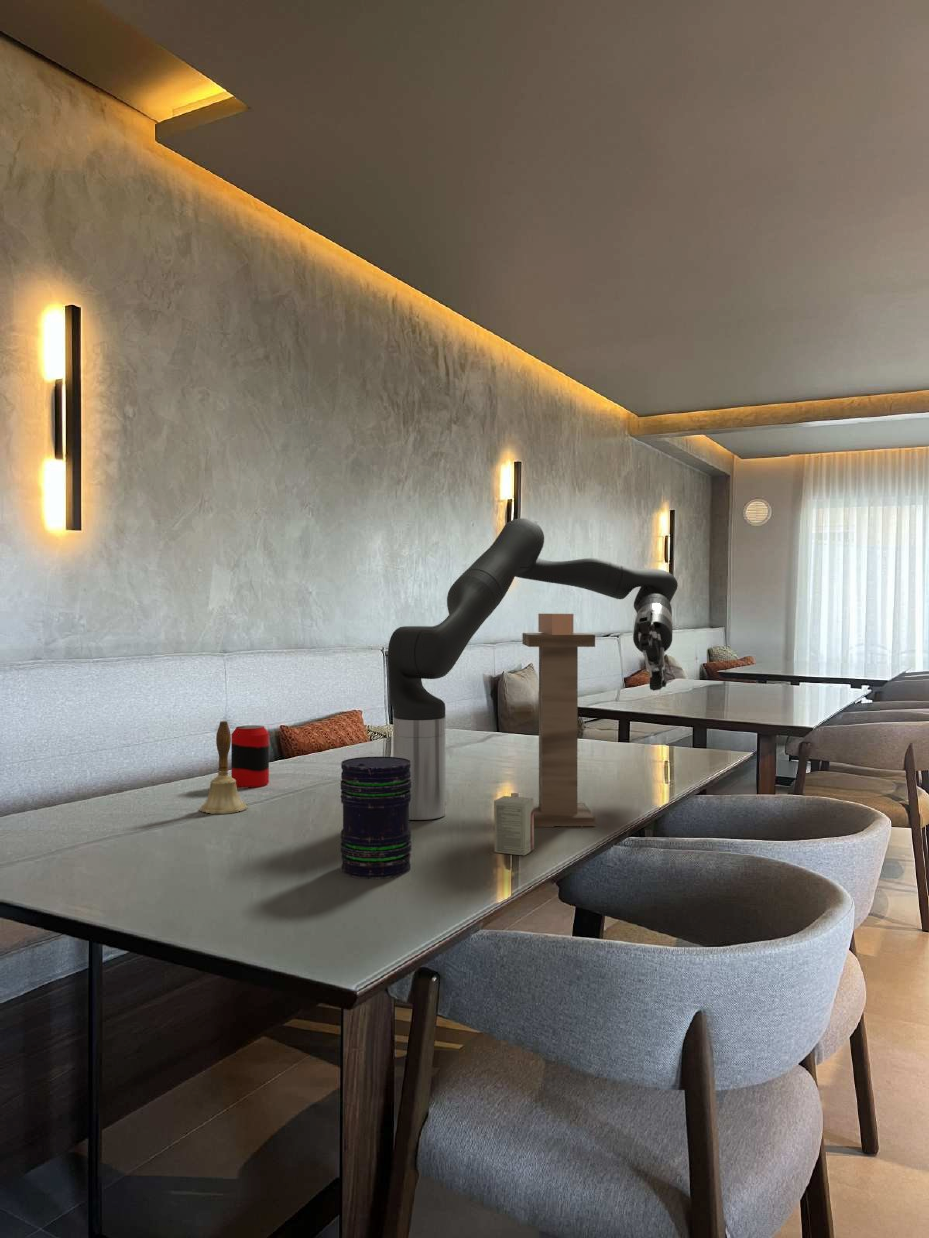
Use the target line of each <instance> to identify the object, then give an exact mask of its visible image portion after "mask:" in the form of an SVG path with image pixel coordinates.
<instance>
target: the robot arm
mask: <svg viewBox="0 0 929 1238" xmlns="http://www.w3.org/2000/svg"><path fill="white" fill-rule="evenodd" d="M544 544H545V534H544V531H543V530H542V527H541V526H540V525H539V523H537V522H535V520H531V519H529V518H523V517H521V518H514V519H512V520H510V521H508V522H507V523H506V524H504V526H503V527H502V529H501V531H500V533H499V534H498V536H497V537H496V539H494V540H493V542H492V544H491V545H490V546H489V548H487V549H486V551H484V552H483V553H482V554H481V555H480V556H479V557H478V558H477V559H476V560H474V562H473V563H472V564H471V565H470V566H469V567H468V568H467V569H466V570H465V571H463V573H462V574H461V575H460V576H459V577H458V578H457V579H456V580H455V581H454V582H453V584H452V585H450V588H449V590H448V593H447V596H446V605H447V606H446V608H447V612H448V615H447V617H446V618H445V619H444V620H443V621H441V622H440V623H438V624H436V625H433V626H431V625H430V626H429V625H426V626H424V625H421V626H420V625H411V626H410V625H408V626H407V625H406V626H398V627H397V628H396V629H394V631H393V632H392V634H391V636H390V639H389V641H388V646H387V670H388V671H387V672H388V686H389V687H388V690H389V691H388V692H389V701H390V704H391V707H392V717H393V718H392V722H393V725H392V732H393V733H392V757H398V758H404V759H408V760H410V761H411V767H410V772H411V777H410V779H411V789H410V790H411V801H410V802H409V821H411V820H414V821H422V820H425V821H427V820H434V819H439V818H442V817H444V816H446V805H447V804H446V803H447V801H446V704H445V702H444V700H442V699H441V698H439V697H437V696H435V695H433V694H431V693H430V692H429V691H428V690H426V688H425V687H424V685H423V681H422V680H436V679H437V680H438V679H440V678H444V677H446V675H448V674H449V673H450V672H451V670H452V669H453V668H454V667H455V666H456V663H457V662H458V660H459V658H460V657H461V655H462V653H463V652H464V650H465V649H466V647H467V646H468V644H469V643H470V640H471V639H472V638H473V637H474V635H475V634H476V633H477V631H478V630H479V629H480V628H481V626H482V624H484V623H485V622H486V620H487V619H488V618H489V616H491V615H492V613H493V612H494V611H495V610H496V609H497V607H499V606H500V603H501V602H502V601H503V600H504V598H505V596H506V594H507V592H508V591H509V590H510V587H511V586H512V583H513V582H514V580H515V578H519V579H525V580H530V581H531V580H532V581H536V582H544V583H549V584H550V583H551V584H557V585H563V586H564V585H565V586H568V587H569V586H571V587H576V588H580V589H584V590H588V591H590V592H591V591H592V592H594V593H597V594H599V595H604V596H607V597H609V598H613V599H616V600H623V599H625V598H626V597H628V595H629V594H630V593H631V592H632V591H633V590H634V589H636V588H639V590H638V592H637V594H636V596H635V598H634V600H633V608H634V610H635V612H636V616H635V619H634V625H633V635H632V640H633V641H632V642H633V643H634V646H635V647H636V649H637V650H638V651H639V652H641V653H642V655H643V657H644V662H645V669H646V671H647V673H649V685H648V686H649V690H651V691H660V690H661V689H662V688H666V686H667V668H666V665H665V658H664V657H665V655H666V654H665V653H666V651H667V650H669V649H670V648H671V645H672V643H673V632H674V631H673V628H674V627H673V626H674V624H673V614H672V613H673V612H672V611H673V609H672V605H671V602H672V599H673V597H674V595H675V593H676V592H677V590H678V586H679V585H678V581H677V580H678V579H676V577H675V576H674V575H673V574H672V573H670V572H669V571H667V570H664V569H663V570H662V569H657V568H639V567H638V568H637V567H627V566H623V565H620V564H618V563H614V562H611V561H608V560H605V559H601V558H594V557H593V558H589V557H588V558H580V559H579V558H578V559H572V560H563V561H562V560H561V561H560V560H559V561H554V560H546V559H542V558H540V557H539V556H540V555H541V552H542V550H543V548H544ZM650 663H651V665H650Z"/></svg>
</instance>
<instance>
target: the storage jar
mask: <svg viewBox="0 0 929 1238" xmlns="http://www.w3.org/2000/svg"><path fill="white" fill-rule="evenodd" d="M340 764H341V765H340V767H341V768H340V769H342V771H341V773H340V774H341V778H340V779H341V780H340V790H341V791H340V802H341V804H342V829H341V831H340V840H341V841H340V853H341V856H340V857H341V861H342V863H341V866H340V867H341V873H342V874H344V875H346V876H348V877H352V878H357V879H366V880H367V879H371V880H372V879H373V880H375V879H377V880H378V879H390V878H393V877H394V878H396V877H400V876H402V875H404V874H407V873H409V872H410V870H411V869H412V868H411V864H412V863H411V862H410V861H411V860H410V859H411V857H412V856H411V852H412V841H411V839H412V829H411V828H410V820H409V802H410V801H411V790H410V789H411V779H410V777H411V772H410V767H411V761H410V760H408V759H404V758H398V757H393V756H361V757H359V756H358V757H351V758H348V759H343V760H342V761H341V763H340Z"/></svg>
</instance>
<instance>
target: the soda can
mask: <svg viewBox="0 0 929 1238" xmlns="http://www.w3.org/2000/svg"><path fill="white" fill-rule="evenodd" d="M230 734H231V745H230V749H231V752H230V753H231V755H230V757H231V759H230V760H231V766H230V767H231V772H230V773H231V776H230V777H231V778H234V779H235V780H236V786H237V788H238V787H257V788H262V787H261V786H263V787H265V786H264V785H266V786H268V784H269V782H270V761H269V760H270V741H269V739H270V735H269V734H270V733H269V731H268V730H267V728H266V727H265V726H264V725H252V724H251V725H240V726H239V725H238V726H236V728H235V729H233V731H232V733H230Z"/></svg>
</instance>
